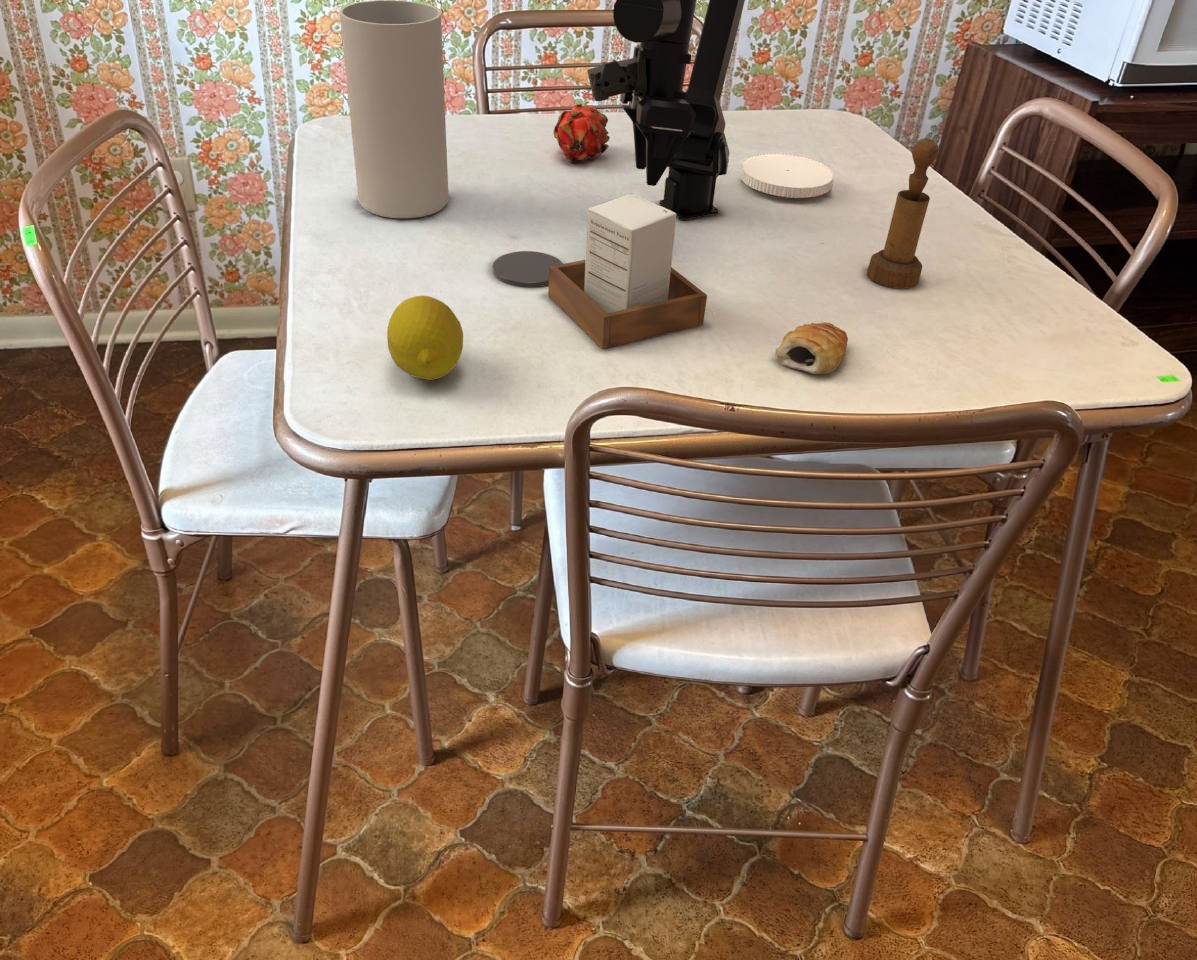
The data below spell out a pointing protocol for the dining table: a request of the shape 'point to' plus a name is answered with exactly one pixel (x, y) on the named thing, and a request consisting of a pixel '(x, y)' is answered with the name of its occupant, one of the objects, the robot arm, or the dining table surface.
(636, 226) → the white packaging box
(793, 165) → the plastic lid
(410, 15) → the cylinder vase
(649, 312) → the brown square shallow frame
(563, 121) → the dragon fruit
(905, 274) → the mortar and pestle
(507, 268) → the slate coaster
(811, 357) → the pastry
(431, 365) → the lemon
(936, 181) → the dining table surface
